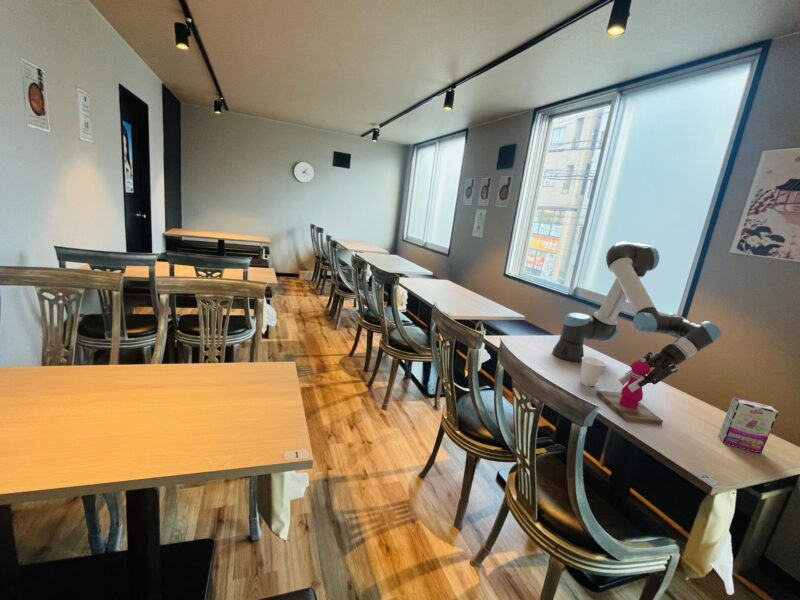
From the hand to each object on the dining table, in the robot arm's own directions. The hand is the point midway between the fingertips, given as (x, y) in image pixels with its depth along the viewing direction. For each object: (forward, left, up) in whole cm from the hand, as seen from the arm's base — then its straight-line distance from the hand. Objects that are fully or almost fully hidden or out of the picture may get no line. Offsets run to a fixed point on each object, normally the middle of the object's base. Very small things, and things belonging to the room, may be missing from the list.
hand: (625, 385), depth 143 cm
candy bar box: (+18, +34, -10) cm, 40 cm away
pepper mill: (0, +4, -8) cm, 9 cm away
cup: (-20, -1, -10) cm, 23 cm away
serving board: (0, +4, -10) cm, 11 cm away
